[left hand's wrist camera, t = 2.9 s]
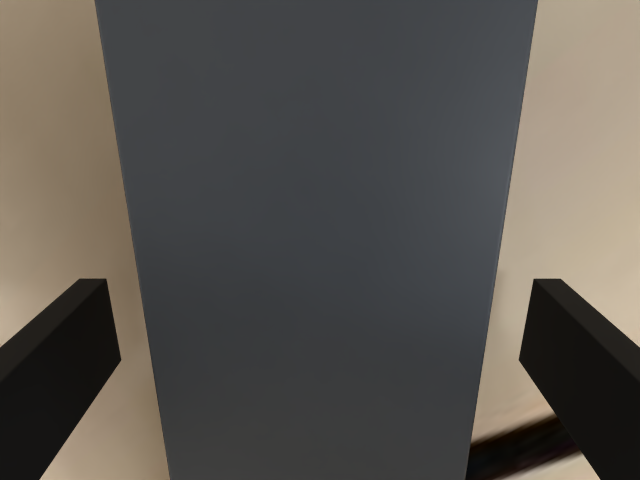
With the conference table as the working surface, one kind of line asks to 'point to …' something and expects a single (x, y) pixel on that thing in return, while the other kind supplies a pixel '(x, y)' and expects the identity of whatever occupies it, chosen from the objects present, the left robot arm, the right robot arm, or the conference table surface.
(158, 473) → the conference table surface
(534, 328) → the left robot arm
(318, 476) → the bar
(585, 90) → the conference table surface
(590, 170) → the conference table surface
